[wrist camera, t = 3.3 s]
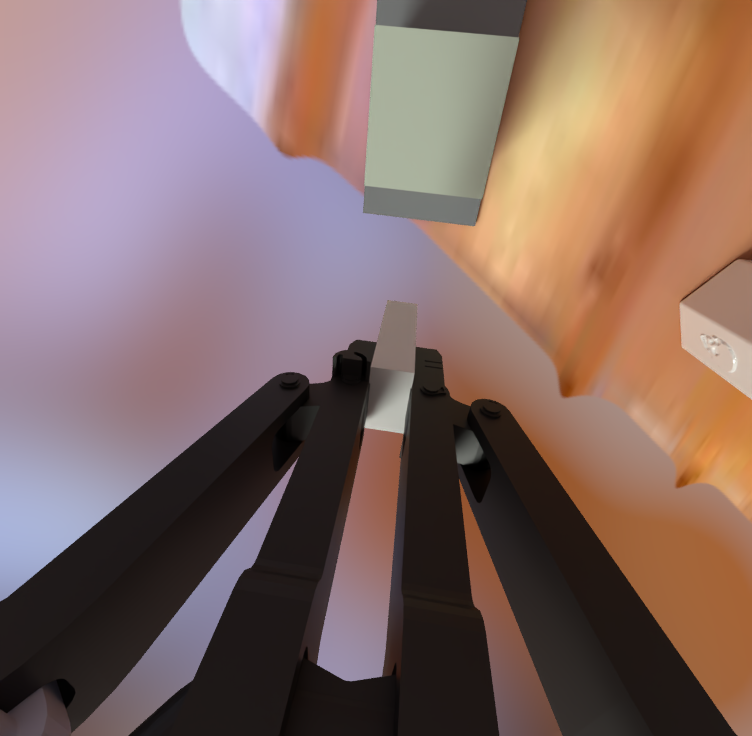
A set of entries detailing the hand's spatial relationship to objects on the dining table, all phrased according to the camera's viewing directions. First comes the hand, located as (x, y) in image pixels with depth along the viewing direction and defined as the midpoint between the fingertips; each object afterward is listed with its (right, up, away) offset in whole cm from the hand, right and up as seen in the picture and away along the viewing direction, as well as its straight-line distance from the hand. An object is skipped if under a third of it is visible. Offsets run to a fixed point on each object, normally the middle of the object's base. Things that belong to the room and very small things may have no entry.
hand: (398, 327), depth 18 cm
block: (+3, +15, +7) cm, 17 cm away
